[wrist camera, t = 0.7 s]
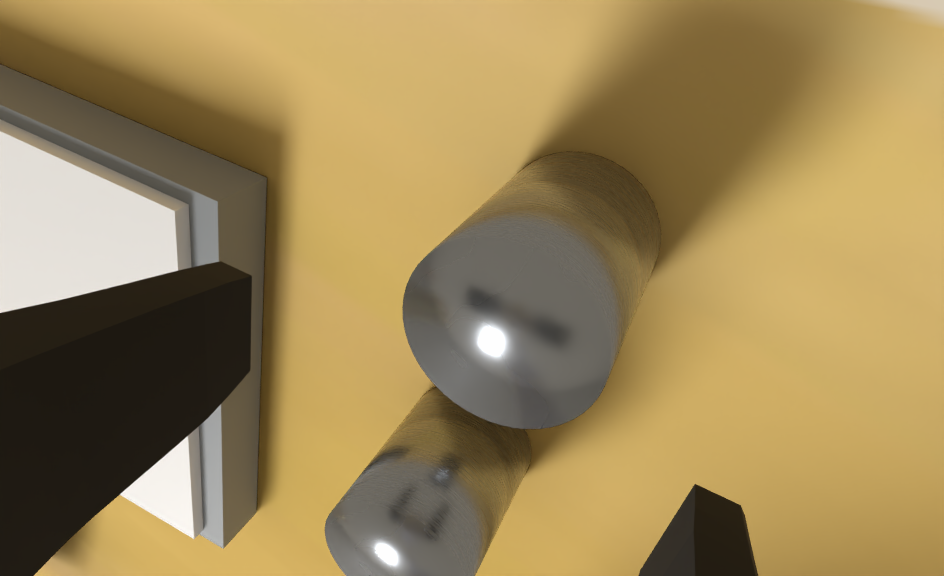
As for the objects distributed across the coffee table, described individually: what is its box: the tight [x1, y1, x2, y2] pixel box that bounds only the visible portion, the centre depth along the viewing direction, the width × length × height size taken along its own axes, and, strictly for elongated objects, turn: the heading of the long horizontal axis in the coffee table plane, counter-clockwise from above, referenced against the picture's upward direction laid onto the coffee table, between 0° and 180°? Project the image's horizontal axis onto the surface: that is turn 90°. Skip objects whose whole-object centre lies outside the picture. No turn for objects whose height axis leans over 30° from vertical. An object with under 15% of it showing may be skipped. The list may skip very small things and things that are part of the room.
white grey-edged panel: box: [0, 64, 267, 549], centre depth 23 cm, size 16×15×4 cm
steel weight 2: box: [403, 152, 661, 429], centre depth 14 cm, size 4×4×5 cm
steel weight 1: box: [325, 387, 531, 576], centre depth 18 cm, size 4×4×5 cm
